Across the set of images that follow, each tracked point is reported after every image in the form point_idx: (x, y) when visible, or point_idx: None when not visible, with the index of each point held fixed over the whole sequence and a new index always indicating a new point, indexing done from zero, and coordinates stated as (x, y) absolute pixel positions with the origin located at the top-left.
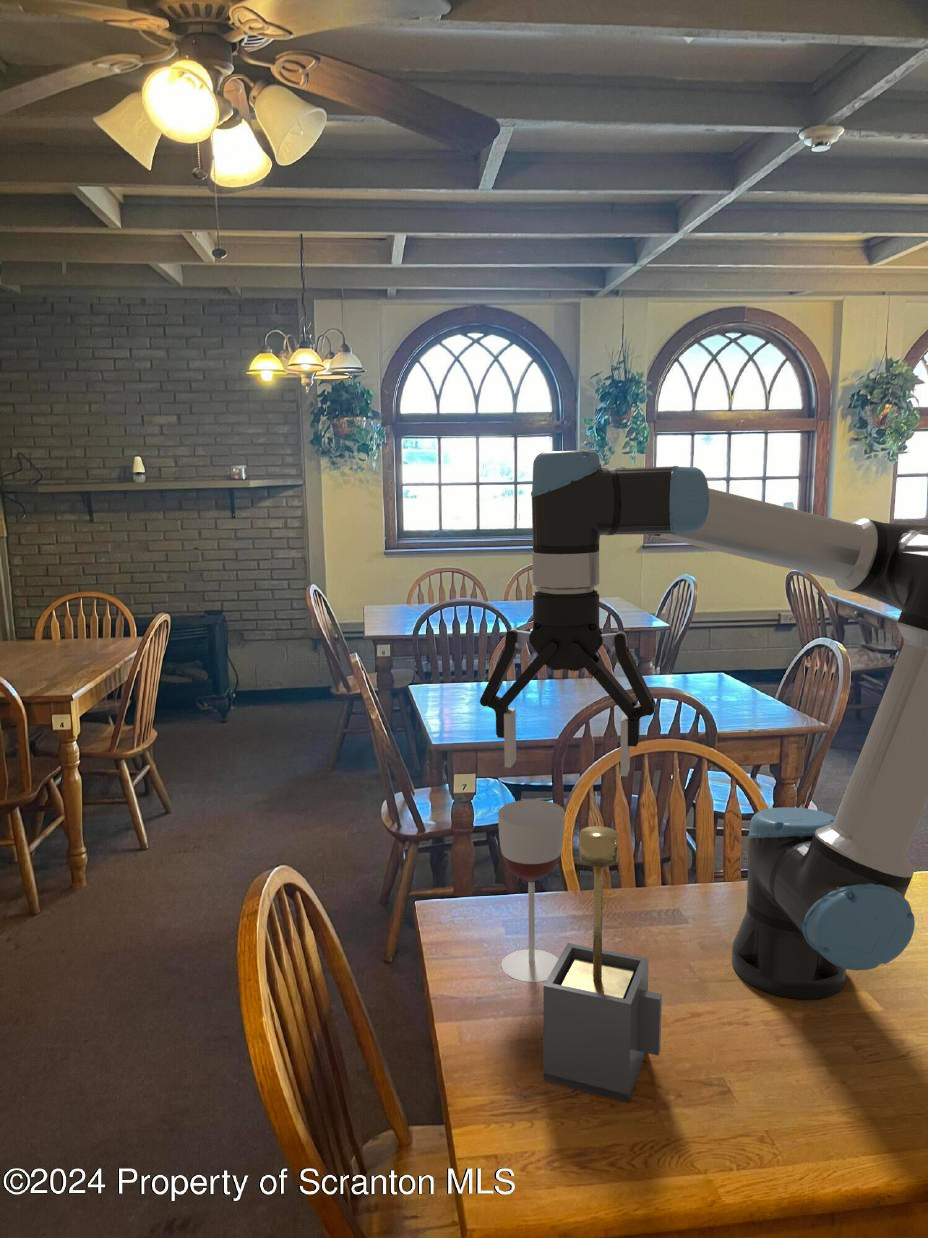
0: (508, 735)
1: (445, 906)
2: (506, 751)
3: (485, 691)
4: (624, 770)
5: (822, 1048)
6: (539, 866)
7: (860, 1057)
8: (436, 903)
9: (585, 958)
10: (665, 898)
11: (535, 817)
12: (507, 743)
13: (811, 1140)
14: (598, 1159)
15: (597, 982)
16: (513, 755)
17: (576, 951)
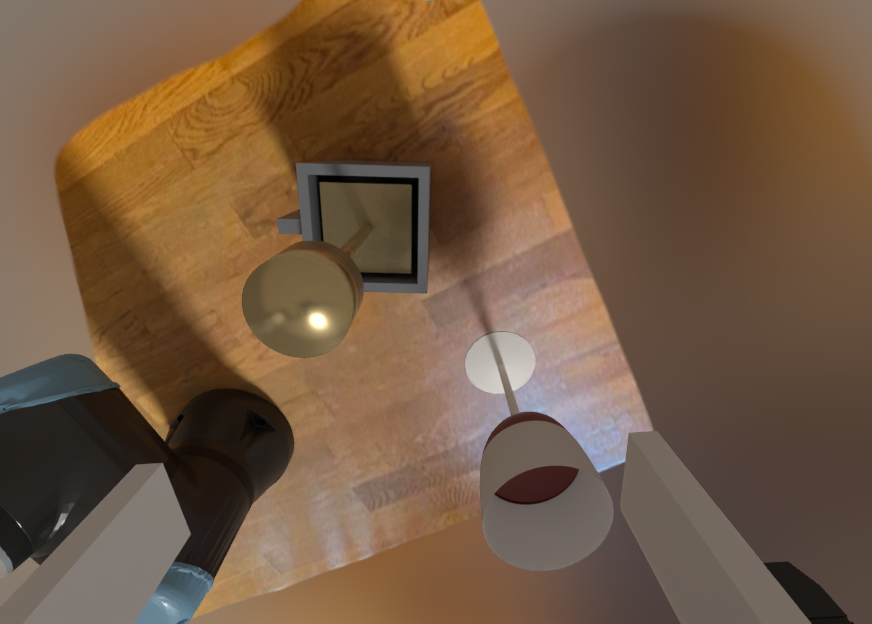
0: (738, 570)
1: None
2: (689, 487)
3: None
4: (129, 482)
5: (174, 319)
6: (505, 425)
7: (138, 316)
8: None
9: (398, 279)
10: (387, 525)
11: (543, 537)
12: (711, 524)
13: (149, 170)
14: (339, 54)
15: (364, 222)
16: (641, 503)
17: (411, 282)
